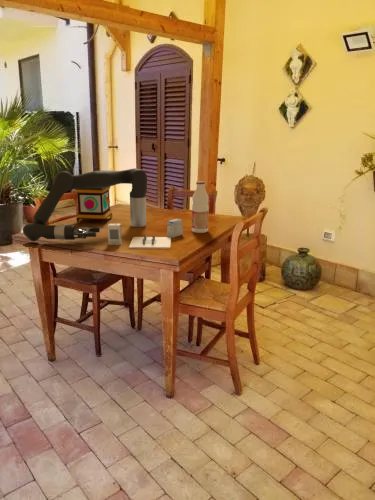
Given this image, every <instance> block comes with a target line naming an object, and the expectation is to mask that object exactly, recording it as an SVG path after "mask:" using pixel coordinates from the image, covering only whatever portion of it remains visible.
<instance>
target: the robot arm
mask: <svg viewBox="0 0 375 500" xmlns="http://www.w3.org/2000/svg"><path fill="white" fill-rule="evenodd" d="M119 184H120V185H121V184H129V185H130V184H131V191H129V211H130V212H129V213H130V227H133V228H143V227H146V226H147V201H146V200H147V199H146V198H147V196H146V195H147V192H148V177H147V174H146V171H145V170H143V169H140V168H129V169H128V168H127V169H123V170H107V169H106V170H93V171H89V172H85V173H82V174H71V173H70V172H69V171H68V170H67V171H66V170H63V171H59V172H57V174H56V175H54V178H53V179H52V187H51V189H50V191H49V192H48V194H47V195H46V197H45V198H44V199H43V201H41V204H39V206H38V208H37V209H36V211H35V213H34V215H33V217H32V218H33V222H31V223H26V224H25V225H24V226H23V228H22V232H23V235H24V236H25V237H26V238H27V239H28V240H30V241H32V242H36V241H38V240H39V239H41V238H44V239H46V240H59V241H61V240H62V241H64V240H65V241H73V240H76V239H84V240H85V239H87V238H96V237H97V233H100V227H92V226H79V227H78V228H77V227H76V225H75V224H58V225H57V224H56V225H52V224H51V225H50V224H49V225H48V224H47V223H48V221H49V219H50V218H51V217H52V214H53V213H54V211H55V209H56V207H57V206H58V203H59V202H60V200H61V199H62V197H63V196H64V195H65V193H67V191H70V190H71V191H72V190H75V189H78V188H103V187H110V188H111V187H113V186H116V185H119Z"/></svg>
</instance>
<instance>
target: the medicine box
mask: <svg viewBox="0 0 375 500" xmlns="http://www.w3.org/2000/svg"><path fill="white" fill-rule="evenodd" d="M183 222H184V221H183V219H181V218H173V219H170V220H167V222H166V223H167V225H166V228H167V229H166V230H167V234H166V235H167V236H166V237H171V239H172V238H176V237H179V236H183V228H184V227H183V226H184V224H183Z"/></svg>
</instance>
